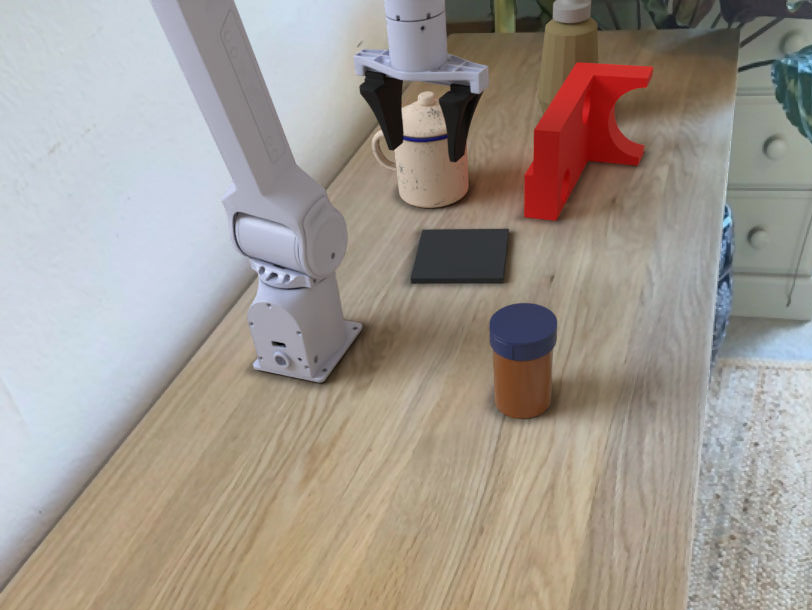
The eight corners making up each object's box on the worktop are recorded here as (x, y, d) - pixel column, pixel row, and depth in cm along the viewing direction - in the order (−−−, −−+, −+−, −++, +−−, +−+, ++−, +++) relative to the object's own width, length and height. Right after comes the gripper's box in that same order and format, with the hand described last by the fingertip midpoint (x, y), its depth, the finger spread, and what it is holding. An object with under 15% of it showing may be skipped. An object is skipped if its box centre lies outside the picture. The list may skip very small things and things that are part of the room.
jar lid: (545, 367, 71) (545, 349, 70) (480, 355, 73) (479, 337, 71) (564, 326, 74) (565, 308, 73) (502, 316, 76) (502, 298, 75)
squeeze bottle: (525, 118, 117) (527, -33, 103) (576, 102, 119) (584, -48, 105) (556, 140, 112) (562, -16, 98) (609, 123, 113) (622, -32, 100)
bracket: (568, 61, 103) (653, 66, 100) (564, 146, 110) (643, 153, 107) (524, 128, 92) (618, 136, 89) (524, 217, 100) (610, 227, 97)
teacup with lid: (479, 176, 107) (476, 79, 98) (458, 213, 102) (452, 113, 93) (390, 169, 111) (379, 74, 102) (364, 204, 105) (351, 108, 96)
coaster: (502, 282, 91) (502, 278, 91) (410, 283, 93) (410, 278, 92) (508, 233, 98) (508, 228, 97) (422, 234, 99) (422, 229, 99)
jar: (541, 423, 76) (543, 350, 70) (486, 412, 78) (483, 339, 72) (558, 387, 79) (561, 314, 73) (504, 377, 81) (503, 304, 75)
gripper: (502, 3, 80) (503, 146, 91) (374, -10, 86) (388, 126, 96) (466, 30, 77) (472, 176, 87) (334, 14, 82) (354, 153, 93)
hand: (426, 152), depth 91 cm, fingers open, 7 cm apart
